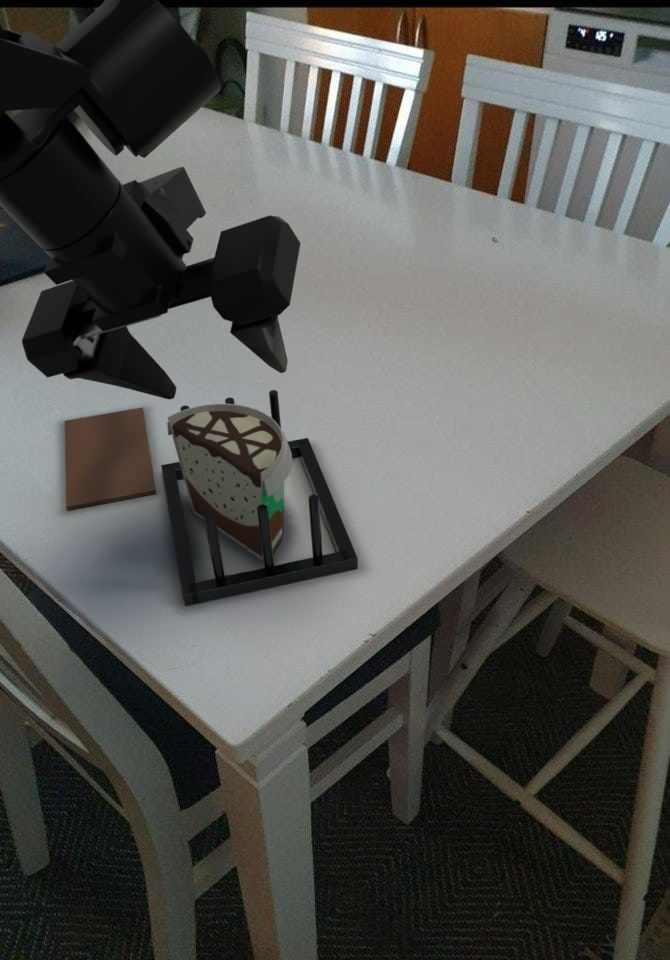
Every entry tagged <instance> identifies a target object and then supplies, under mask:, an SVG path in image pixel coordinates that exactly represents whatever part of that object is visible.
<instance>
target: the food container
mask: <svg viewBox="0 0 670 960" xmlns="http://www.w3.org/2000/svg"><path fill="white" fill-rule="evenodd" d="M166 423H167V435H168V436H172V440H173V443H174V447H175V450H176V451H175V452H176V454H177V459H178V462H180V466H181V470H182V474H183V477H184V479H183V481H184V485H185V489H186V492H187V497H188V499H189V503H190V508H191V511H192V514H193V515H195V516H196V517H198V518H200V519H201V520H202V521H204V518H205V517H206V516H207V515H213V516H214V517H215V522H216V527H217V531H219V532H220V533H221V534H223V535H225V536H226V537H227V538H228V539H230V540H232V541H233V542H235V543H236V544H237V545H239V546H240V547H242V548H243V549H245V550H246V551H248V552H249V553H251V554H252V555H253V556H255V557H256V558H257V559H259V560H260V561H262V562H264V560H263V553H262V545H261V537H260V529H259V521H258V513H257V507H258V506H259V505H262V504H264V505H266V506H267V507H268V516H269V525H270V533H271V542H272V550H273V555H274V554H275V553H276V551H277V550H278V548H279V546H280V545H281V543H282V541H283V535H284V524H285V523H284V522H285V521H284V520H285V518H284V517H285V516H284V515H285V512H284V511H285V483H286V482H285V481H286V480H287V479H288V477H289V475H290V473H291V470H292V467H293V458H292V453H291V450H290V448H289V445H288V439H287V437H286V434H285V432H284V431H283V429H282V427H281V428H280V427H279V425H278V424H277V423H276V421H274V420H273V419H272V418H271V415H268V414H267V413H265V412H263V411H261V410H260V409H257V408H253V407H250V406H247V405H242V404H225V403H211V404H202V405H197V406H193V407H189V409H186V410H183V411H181V410H180V411H178V412H176V413H173V414H171V415H169V416H168V417H167V422H166Z"/></svg>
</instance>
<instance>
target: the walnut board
mask: <svg viewBox="0 0 670 960" xmlns="http://www.w3.org/2000/svg"><path fill="white" fill-rule="evenodd" d="M145 417H146V416H145V410H144V407H137V408H130V409H125V410H119V411H114V412H108V413H102V414H96V415H92V416H91V415H90V416H84V417H79V418H71V419H67V420H64V456H65V457H64V461H65V508H66V510H67V511H72V510H77V509H82V508H87V507H88V508H89V507H93V506H97V505H99V506H100V505H103V504H109V503H114V502H119V501H124V500H129V499H134V498H140V497H145V496H151V495H155V494H157V489H156V483H155V477H154V469H153V462H152V455H151V450H150V443H149V437H148V430H147V425H146V418H145Z"/></svg>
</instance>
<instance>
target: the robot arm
mask: <svg viewBox="0 0 670 960" xmlns="http://www.w3.org/2000/svg"><path fill="white" fill-rule="evenodd" d="M221 86H222V85H221V81H220V77H219V75H218V72H217V70H216V68H215V66H214V64H213V63H212V60H211V59H210V57H209V55H208V54H207V52H206V51H205V49H204V47H203V46H202V44H201V43H200V42H199V41H198V40H197V39H194V38H192V37H191V36H190V34H189V33H188V32H187V30H186V29H185V28H184V26H183V25H182V24H181V23H180V22H179V21H178V20H177V18H176V17H175V16H174V15H173V14H172V13H171V12H170V11H169V10H168V9H167V8H166V7H165V6H164V5H163V4H162V3H161V2H160V1H158V0H103V2H102V3H101V5H100V6H99V7H97V9H95V10H94V11H93V12H92V13H91V14H90V15H88V16H87V17H86V18H85V19H84V20H82V22H80V24H79V25H76V27H75V28H74V29H73V30H72V31H69V33H68V34H67V35H66V36H64V37H63V38H62V39H61V40H60V41H59V42H58V43H57V44H55V45H53V44H52V43H50V42H48V41H46V40H45V39H43V38H41V37H40V36H38V35H36V34H34V33H32V32H31V31H28V30H27V31H26V32H24V33H20V32H17V31H14V30H10V29H7V28H5V27H3V26H2V25H1V24H0V207H1V208H2V209H3V210H4V212H6V213H7V215H9V216H10V217H11V219H12V220H13V221H15V222H16V224H18V226H20V228H21V229H22V230H23V231H24V232H25V233H26V234H27V235H28V236H29V237H31V239H32V240H33V241H34V242H35V243H36V244H37V245H38V246H39V247H40V248H41V249H42V250H43V251H44V252H45V254H47V255H48V256H49V259H48V262H47V264H46V267H45V269H44V272H43V274H44V275H45V276H46V277H48V279H50V281H52V282H53V283H54V285H55V286H52V287H50V288H46V289H44V290H43V289H42V290H41V291H40V294H39V295H38V298H37V301H36V303H35V306H34V308H33V311H32V314H31V316H30V319H29V321H28V324H27V326H26V328H25V331H24V334H23V336H22V338H21V345H22V347H23V351H24V355H25V357H26V360H27V361H28V362H29V363H30V365H32V366H34V368H36V369H37V370H38V371H39V372H40V373H42V374H43V375H44V376H45V377H46V378H47V379H48V378H51V377H54V376H59V375H63V376H64V377H65V378H66V379H69V380H75V379H82V380H87V381H91V382H96V383H101V384H104V385H109V386H116V387H119V388H124V389H126V390H132V391H135V392H139V393H142V394H147V395H150V396H154V397H158V398H161V399H165V400H173V399H174V398H175V397H176V393H177V386H176V385H175V383H174V382H173V380H172V379H171V378H170V376H169V375H168V374H167V372H166V371H165V369H163V368H162V366H161V365H160V364H159V363H158V362H157V361H156V360H155V359H154V358H153V357H152V355H151V354H150V353H149V352H148V351H147V350H146V349H145V348H144V346H142V344H141V343H140V342H139V341H138V340H137V339H136V338H135V337H134V336H133V334H132V333H131V332H130V330H129V326H132V325H136V324H139V323H143V322H146V321H149V320H153V319H156V318H159V317H161V316H162V315H165V314H168V311H169V310H170V309H174V308H178V307H181V306H184V305H187V304H190V303H195V302H198V301H201V300H204V299H209V298H210V299H211V303H212V306H213V307H212V308H214V310H215V311H216V312H217V313H218V315H219V316H220V317H221V318H222V319H223V320H225V321H228V322H231V327H230V331H229V333H230V334H231V335H232V336H233V337H234V338H236V339H237V340H238V341H239V342H240V343H241V344H243V345H244V346H245V347H246V348H247V349H249V350H250V351H251V352H252V353H253V354H254V355H255V356H256V357H258V358H259V359H260V360H262V361H263V363H265V364H266V365H267V366H269V367H270V368H271V369H273V370H275V371H277V373H280V374H283V373H286V371H287V369H288V360H289V359H288V356H287V352H286V347H285V343H284V338H283V334H282V330H281V326H280V321H279V316H280V315H281V314H282V313H283V312H285V310H287V308H289V306H290V305H291V301H292V296H293V295H292V294H293V289H294V283H295V277H296V272H297V266H298V259H299V254H300V249H301V241H300V240H299V238H298V236H297V235H296V233H295V232H294V230H293V229H292V228H291V225H290V224H289V223H288V222H287V221H286V220H285V219H283V218H282V217H281V216H277V215H267V216H264V217H263V216H262V217H260V218H257V219H254V220H252V221H248V222H245V223H242V224H239V225H237V226H234V227H230V228H227V229H224V230H221V231H220V233H219V238H218V242H217V245H216V250H215V254H214V257H211V258H207V259H205V260H202V261H199V262H194V263H192V264H189V265H187V264H186V263H185V262H184V260H183V258H184V255H185V254H186V255H187V254H189V253H191V250H192V247H193V243H194V237H193V236H192V235H191V233H190V232H189V231H188V229H189V228H190V227H191V226H192V225H193V224H194V223H195V222H196V221H197V219H202V218H204V217H205V216H206V214H207V211H206V209H205V208H204V205H203V203H202V201H201V199H200V197H199V194H198V193H197V191H196V189H195V187H194V185H193V183H192V181H191V178H190V176H189V174H188V172H187V170H186V168H185V167H184V166H180V167H177V168H174V169H172V170H171V169H170V170H169V171H166V172H163V173H161V174H158V175H155V176H152V177H150V178H148V179H145V180H143V181H140V182H138V180H137V179H134V180H131V181H128V182H125V183H122V182H121V181H120V180H119V179H118V178H117V176H116V175H115V174H114V173H113V171H112V170H111V169H110V168H109V166H108V165H107V164H106V163H105V161H104V160H103V159H102V158H101V157H100V155H99V154H98V153H97V152H96V150H95V149H94V148H93V147H92V146H91V144H90V143H89V142H88V140H87V139H86V138H85V137H84V135H83V134H82V133H81V131H79V129H78V128H77V127H76V125H75V124H74V123H73V122H72V121H71V119H70V118H69V117H68V116H69V115H70V114H71V113H73V112H74V111H75V113H76V114H77V116H78V117H79V118H80V120H81V121H83V123H84V124H85V126H86V127H87V128H88V129H89V130H90V132H91V133H92V134H93V135H94V136H95V137H96V138H97V139H98V141H99V142H100V143H101V144H102V145H103V146H104V147H105V148H106V149H107V150H108V151H109V152H110V153H111V154H113V155H114V156H116V157H117V156H118V155H120V153H122V152H123V151H124V150H125V147H126V149H127V150H128V151H129V152H130V153H131V154H132V155H133V156H134V157H135V158H137V157H138V156H139V157H141V158H143V159H146V158H147V157H148V156H149V155H150V154H151V153H152V152H153V151H155V150H156V149H158V147H159V146H160V145H162V143H163V142H165V141H166V140H167V139H168V138H170V136H171V135H172V134H174V133H175V132H176V131H177V130H178V129H179V128H180V127H182V126H183V125H184V124H185V123H186V122H187V121H188V120H189V119H190V118H191V117H193V116H194V115H195V114H196V113H197V112H198V111H200V109H202V108H203V107H204V106H205V105H206V104H207V103H208V102H209V101H210V100H211V99H213V98H214V97H216V95H217V94H218V93H219V92H220V91H221V89H222V88H221ZM9 111H10V112H11V111H19V112H17V113H16V114H14V115H13V116H10V115H9V114H8V113H6V112H9Z"/></svg>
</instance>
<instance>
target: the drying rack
mask: <svg viewBox="0 0 670 960" xmlns="http://www.w3.org/2000/svg"><path fill="white" fill-rule="evenodd" d="M268 396H269V407H270V417H271V418H272V419H273V420H274V421H276V423H277V424H278V425H279V427H280V428H281V429H282V421H281V411H280V401H279V392H278V390H276V389H272V390H269V392H268ZM224 404H235V399H234V397H227V398H225V400H224ZM189 408H190V406H189V405H187V404H185V405H181V406H180V411H183V410H186V409H189ZM287 442H288V445H289V448H290V450H291V453H292V459H295V458H300V461H301V463H302V466H303V469H304V472H305V474H306V477H307V480H308V482H309V484H310V487H311V490H312V493H313V494H310V495H309V496H308V510H309V511H308V513H309V523H310V536H311V539H310V540H311V552H312V553H311V554H312V556H311V557H308V558H304V559H299V560H294V561H288V562H285V563H280V564H276V565H275V560H274V554H273V550H272V542H271V533H270V525H269V516H268V507H267V506H266V505H264V504H262V505H259V506H258V507H257V513H258V521H259V529H260V537H261V545H262V553H263V560H264V561H263V567H261V568H257V569H252V570H247V571H242V572H238V573H233V574H229V575H226V574H225V568H224V563H223V556H222V552H221V551H222V550H221V546H220V539H219V533H218V530H217V527H216V522H215V517H214V516H213V515H207V516H206V517H205V518H204V520H203V521H204V527H205V533H206V538H207V542H208V548H209V555H210V559H211V564H212V569H213V575H214V578H210V579H205V580H200V581H197V579H196V573H195V568H194V563H193V558H192V557H193V556H192V551H191V547H190V541H189V536H188V530H187V529H188V528H187V525H186V519H185V514H184V508H183V504H182V497H181V492H180V488H179V481H178V480H184V477H183V474H182V470H181V466H180V462H179V461H175V462H170V463H166V464H161V465H160V467H161V473H162V479H163V485H164V490H165V496H166V504H167V510H168V516H169V520H170V526H171V533H172V539H173V545H174V552H175V557H176V564H177V570H178V575H179V576H178V577H179V582H180V588H181V594H182V599H183V602H184V607H189V606H192V605H193V606H194V605H197V604H203V603H206V602H211V601H216V600H220V599H221V600H222V599H225V598H229V597H234V596H238V595H239V596H240V595H243V594H247V593H252V592H256V591H261V590H266V589H271V588H275V587H279V586H285V585H289V584H293V583H298V582H304V581H307V580H312V579H316V578H320V577H325V576H329V575H335V574H339V573H344V572H348V571H353V570H357V569H359V560H358V559H359V558H358V556H357V553H356V550H355V548H354V545H353V543H352V541H351V538H350V536H349V533H348V532H347V528H346V527H345V524H344V522H343V519H342V517H341V515H340V512H339V509H338V507H337V504H336V502H335V500H334V497H333V495H332V492H331V490H330V487H329V485H328V483H327V480H326V478H325V475H324V472H323V471H322V469H321V466H320V463H319V460H318V458H317V456H316V454H315V451H314V449H313V446H312V444H311V442H310V439H309V437H305V438H299V439H294V440H287ZM321 516H322V518H323V521H324V524H325V526H326V529H327V531H328V534H329V536H330V539H331V542H332V544H333V547H334V549H335V552H331V553H327V554H323V541H322V539H323V538H322V521H321Z"/></svg>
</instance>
